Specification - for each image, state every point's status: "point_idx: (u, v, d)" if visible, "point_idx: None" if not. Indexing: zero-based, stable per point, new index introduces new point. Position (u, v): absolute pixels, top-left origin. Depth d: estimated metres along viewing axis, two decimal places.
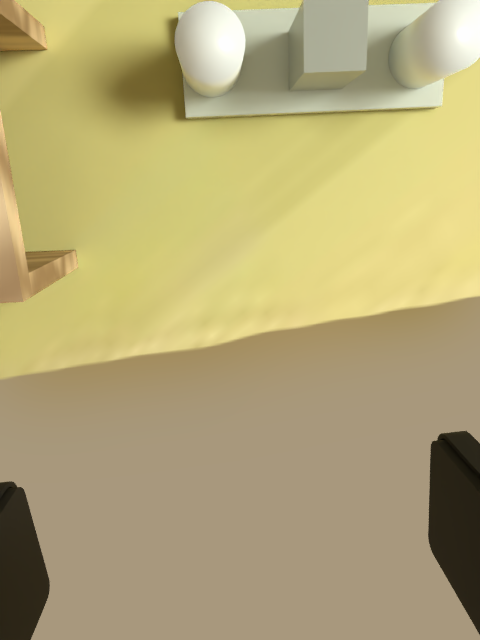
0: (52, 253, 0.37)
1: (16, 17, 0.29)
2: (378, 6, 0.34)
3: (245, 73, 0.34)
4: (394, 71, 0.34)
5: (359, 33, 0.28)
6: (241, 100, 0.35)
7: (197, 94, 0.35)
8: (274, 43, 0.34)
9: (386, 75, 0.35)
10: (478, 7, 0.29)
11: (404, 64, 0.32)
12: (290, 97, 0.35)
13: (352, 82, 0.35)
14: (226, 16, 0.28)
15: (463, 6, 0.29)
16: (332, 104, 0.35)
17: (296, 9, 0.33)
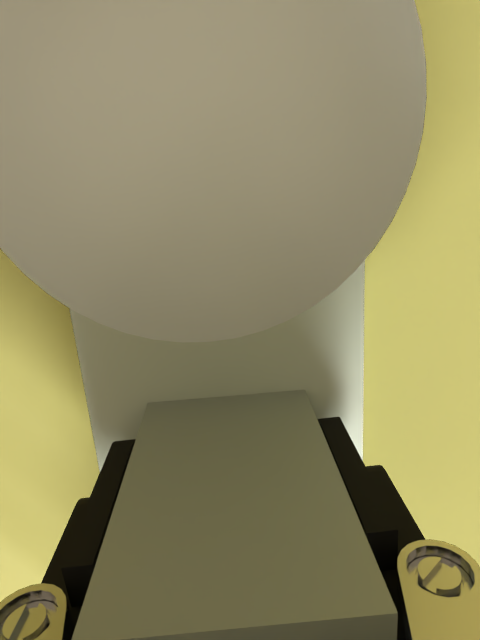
0: None
1: None
2: None
3: None
4: None
5: None
6: None
7: None
8: (274, 353, 0.11)
9: None
10: None
11: None
12: (131, 408, 0.12)
13: None
14: (335, 225, 0.04)
15: None
16: None
17: (359, 406, 0.12)
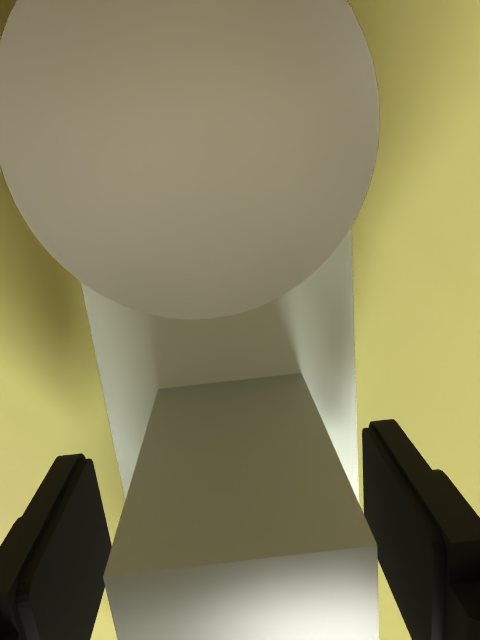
0: None
1: None
2: None
3: None
4: None
5: None
6: None
7: None
8: (272, 340, 0.12)
9: None
10: None
11: None
12: (143, 394, 0.13)
13: None
14: (311, 220, 0.06)
15: None
16: None
17: (352, 387, 0.13)
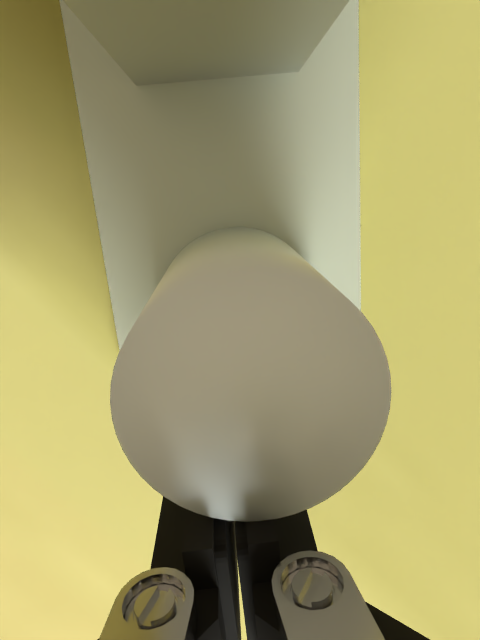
0: None
1: None
2: (356, 180, 0.12)
3: None
4: (191, 244, 0.12)
5: None
6: None
7: None
8: None
9: (186, 227, 0.12)
10: (338, 465, 0.08)
11: (186, 255, 0.10)
12: None
13: (159, 123, 0.11)
14: None
15: (342, 413, 0.07)
16: (88, 60, 0.11)
17: None
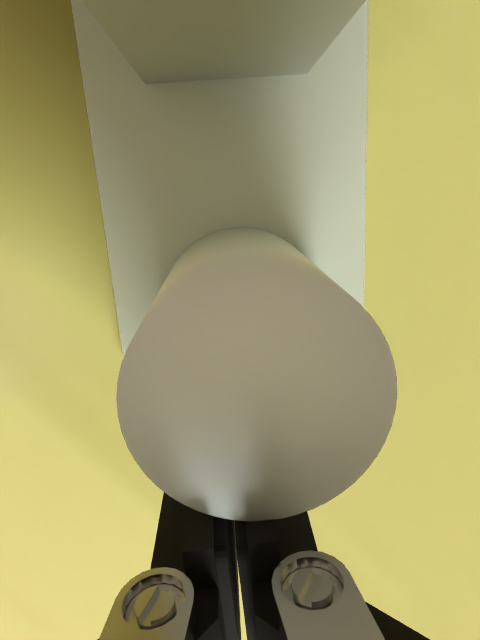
0: None
1: None
2: (362, 183, 0.12)
3: None
4: (196, 243, 0.12)
5: None
6: None
7: None
8: None
9: (191, 226, 0.12)
10: (342, 466, 0.08)
11: (193, 254, 0.10)
12: None
13: (166, 122, 0.11)
14: None
15: (347, 414, 0.07)
16: (97, 57, 0.11)
17: None
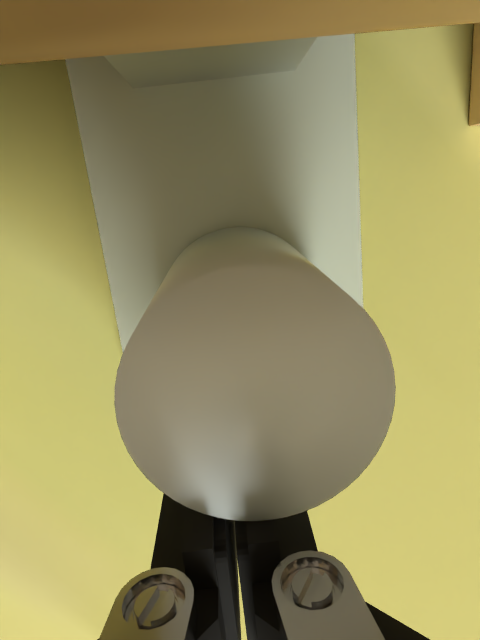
0: None
1: None
2: (355, 177, 0.12)
3: None
4: (192, 245, 0.12)
5: None
6: None
7: None
8: None
9: (186, 228, 0.12)
10: (344, 463, 0.08)
11: (187, 256, 0.10)
12: None
13: (156, 125, 0.12)
14: None
15: (346, 410, 0.07)
16: (85, 64, 0.11)
17: None
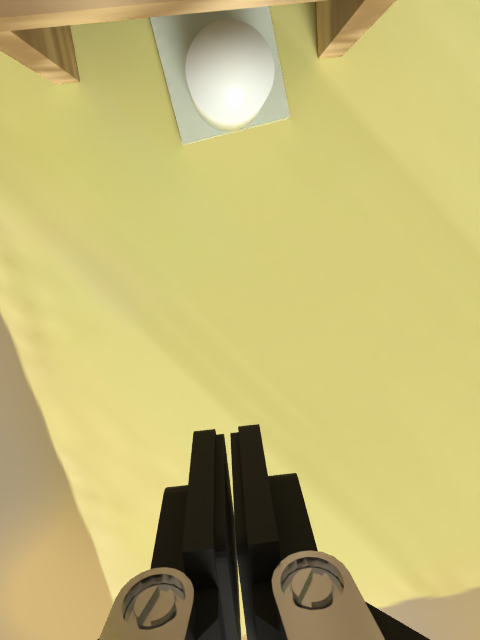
0: (67, 49, 0.27)
1: (349, 31, 0.24)
2: (270, 23, 0.27)
3: None
4: None
5: None
6: None
7: None
8: None
9: None
10: (262, 91, 0.23)
11: None
12: None
13: None
14: None
15: (259, 69, 0.23)
16: None
17: None
